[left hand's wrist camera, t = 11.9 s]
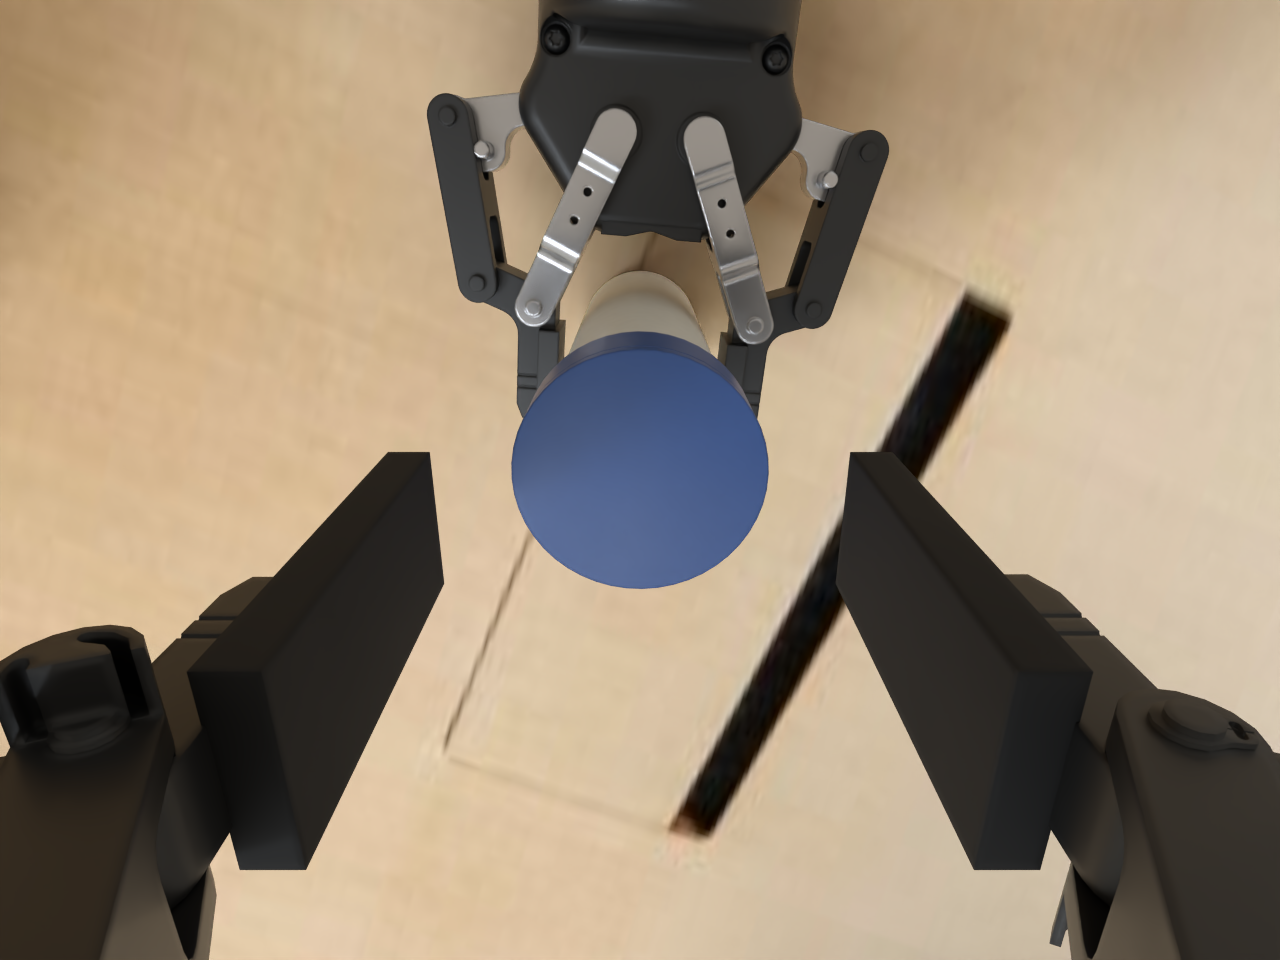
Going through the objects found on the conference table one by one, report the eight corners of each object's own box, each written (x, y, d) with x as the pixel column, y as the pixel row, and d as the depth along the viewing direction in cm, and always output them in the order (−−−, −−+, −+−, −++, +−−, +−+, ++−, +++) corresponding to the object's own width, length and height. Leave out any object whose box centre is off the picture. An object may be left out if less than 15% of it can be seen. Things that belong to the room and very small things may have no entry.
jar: (617, 249, 31) (594, 321, 15) (716, 306, 32) (789, 429, 16) (565, 349, 32) (496, 508, 17) (660, 401, 33) (679, 597, 18)
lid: (590, 285, 17) (584, 299, 15) (800, 402, 18) (819, 429, 16) (486, 488, 18) (469, 522, 17) (682, 584, 19) (686, 626, 18)
